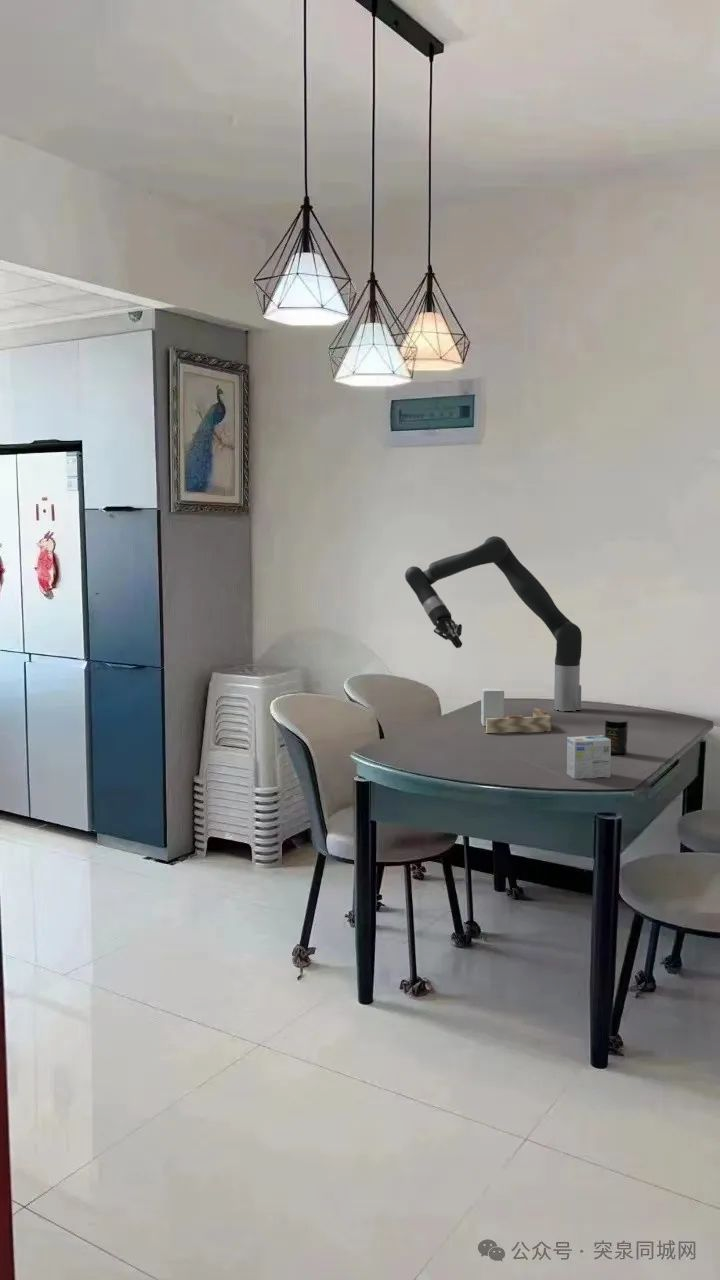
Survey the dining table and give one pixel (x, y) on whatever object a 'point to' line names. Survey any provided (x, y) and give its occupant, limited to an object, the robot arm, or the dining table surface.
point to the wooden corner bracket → (520, 723)
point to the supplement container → (617, 735)
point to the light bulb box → (588, 756)
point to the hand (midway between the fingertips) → (459, 646)
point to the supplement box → (492, 704)
